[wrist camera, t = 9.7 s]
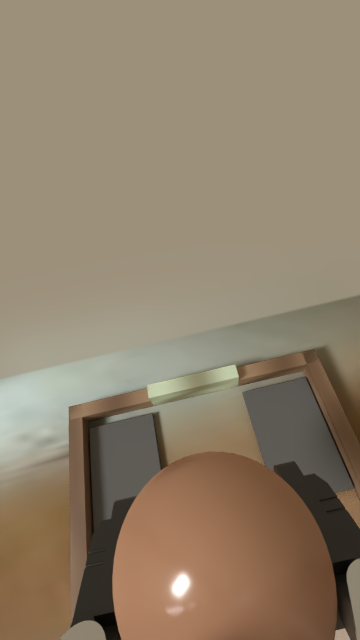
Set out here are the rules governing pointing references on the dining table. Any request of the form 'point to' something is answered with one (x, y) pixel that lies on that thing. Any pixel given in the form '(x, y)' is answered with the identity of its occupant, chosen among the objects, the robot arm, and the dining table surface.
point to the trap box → (352, 453)
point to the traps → (270, 429)
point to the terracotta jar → (222, 557)
